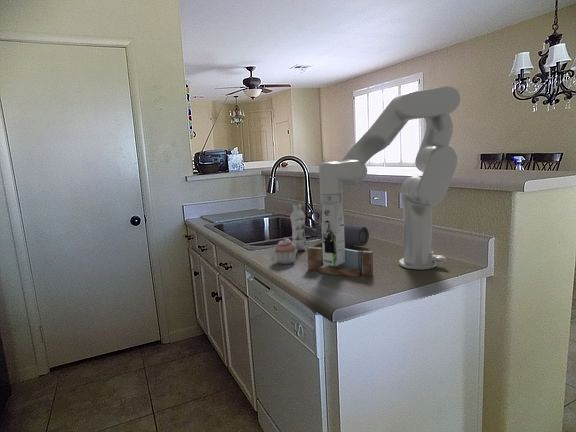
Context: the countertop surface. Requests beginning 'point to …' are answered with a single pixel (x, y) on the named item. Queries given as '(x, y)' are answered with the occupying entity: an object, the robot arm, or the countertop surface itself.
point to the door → (352, 260)
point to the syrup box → (335, 248)
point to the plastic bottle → (298, 227)
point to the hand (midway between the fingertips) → (333, 249)
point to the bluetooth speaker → (350, 234)
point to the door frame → (317, 264)
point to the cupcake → (285, 251)
